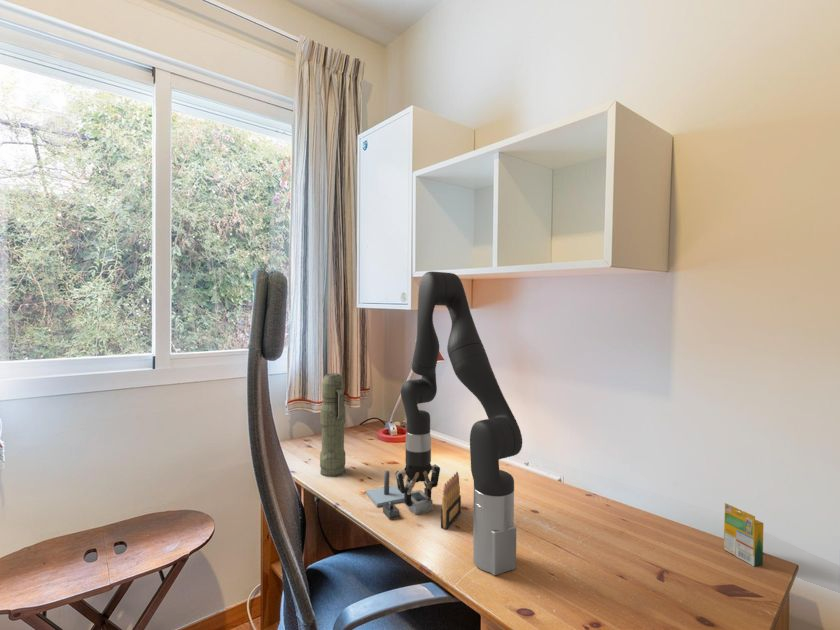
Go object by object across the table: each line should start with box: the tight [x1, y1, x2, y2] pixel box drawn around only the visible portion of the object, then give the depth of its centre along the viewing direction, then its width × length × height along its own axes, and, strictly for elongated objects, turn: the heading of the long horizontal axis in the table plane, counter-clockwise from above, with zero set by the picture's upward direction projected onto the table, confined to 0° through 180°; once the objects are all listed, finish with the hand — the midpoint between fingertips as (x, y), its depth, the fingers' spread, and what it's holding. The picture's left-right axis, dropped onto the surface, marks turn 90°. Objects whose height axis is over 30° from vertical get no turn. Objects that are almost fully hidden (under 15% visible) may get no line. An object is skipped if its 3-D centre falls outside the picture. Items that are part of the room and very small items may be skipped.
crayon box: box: [723, 502, 764, 567], centre depth 101 cm, size 7×3×12 cm, turn 17°
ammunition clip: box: [440, 471, 462, 530], centre depth 118 cm, size 11×2×12 cm, turn 154°
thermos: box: [319, 373, 346, 478], centre depth 151 cm, size 9×12×35 cm
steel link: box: [403, 489, 433, 515], centre depth 125 cm, size 8×6×3 cm
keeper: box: [365, 470, 404, 508], centre depth 132 cm, size 10×10×8 cm
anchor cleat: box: [382, 501, 400, 520], centre depth 120 cm, size 5×3×4 cm, turn 26°
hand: (417, 503), depth 125 cm, fingers closed on steel link, 5 cm apart
